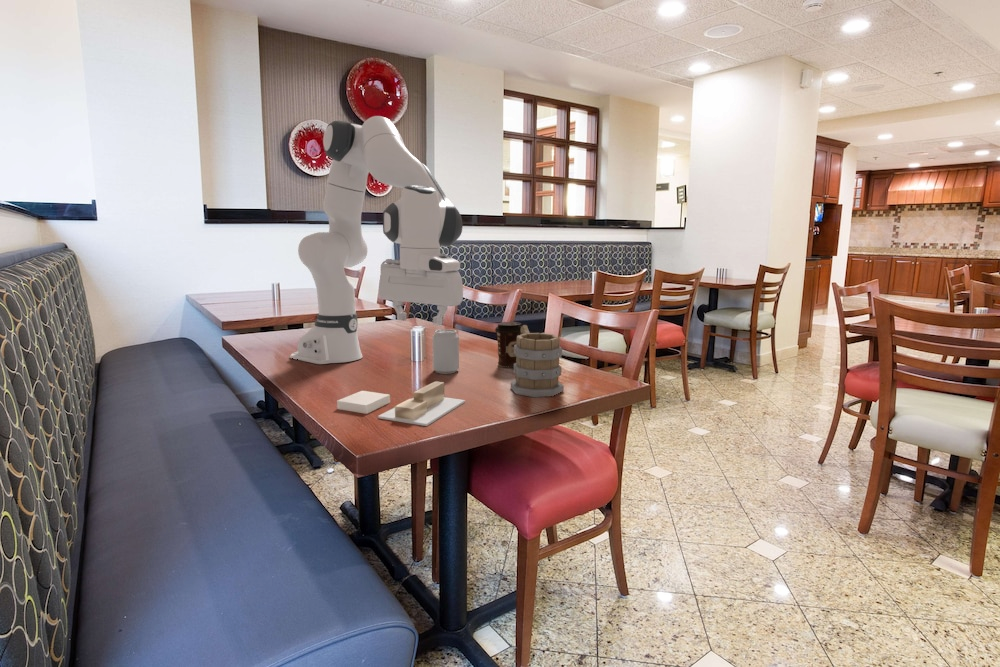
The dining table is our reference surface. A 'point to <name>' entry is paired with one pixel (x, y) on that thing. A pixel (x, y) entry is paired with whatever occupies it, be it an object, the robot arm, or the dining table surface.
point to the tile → (363, 402)
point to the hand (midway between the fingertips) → (419, 322)
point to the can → (445, 351)
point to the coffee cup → (507, 342)
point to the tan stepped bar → (420, 401)
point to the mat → (430, 415)
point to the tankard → (537, 364)
